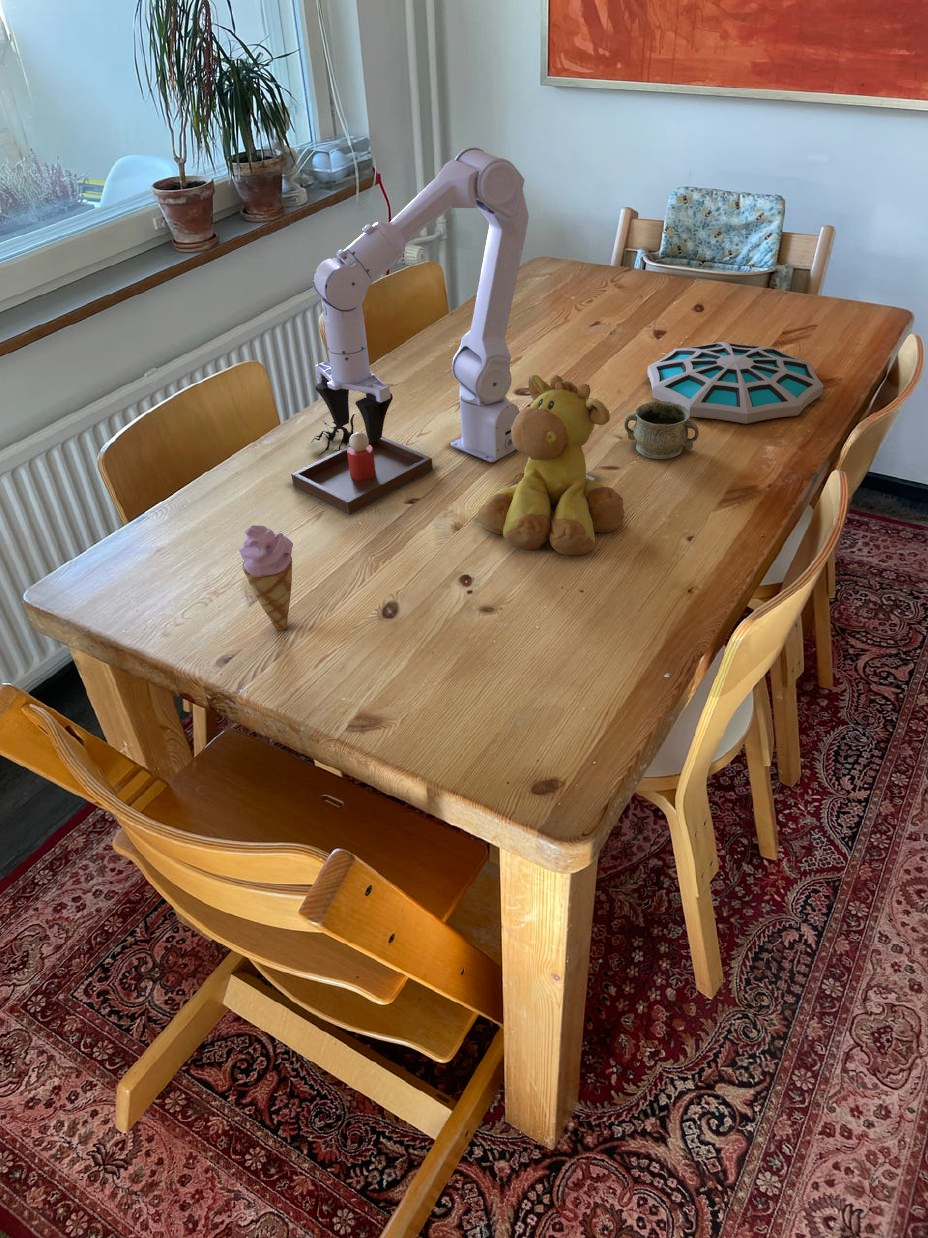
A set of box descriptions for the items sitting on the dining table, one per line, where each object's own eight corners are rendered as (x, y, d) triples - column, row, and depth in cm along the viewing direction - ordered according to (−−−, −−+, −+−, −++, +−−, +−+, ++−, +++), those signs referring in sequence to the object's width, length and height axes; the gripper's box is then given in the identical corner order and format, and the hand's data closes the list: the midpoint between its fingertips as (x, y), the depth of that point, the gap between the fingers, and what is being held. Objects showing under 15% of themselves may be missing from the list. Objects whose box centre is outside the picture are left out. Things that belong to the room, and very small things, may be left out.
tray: (433, 469, 150) (432, 457, 148) (349, 514, 140) (347, 502, 139) (375, 444, 157) (374, 433, 156) (293, 485, 148) (291, 473, 146)
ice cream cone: (260, 612, 122) (237, 513, 113) (307, 607, 122) (289, 509, 113) (255, 644, 117) (231, 543, 108) (305, 640, 117) (286, 539, 108)
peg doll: (380, 473, 148) (376, 431, 144) (361, 483, 146) (356, 441, 142) (364, 465, 151) (358, 424, 146) (345, 475, 148) (339, 433, 144)
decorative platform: (627, 411, 163) (629, 383, 160) (664, 347, 184) (666, 322, 181) (812, 435, 153) (818, 406, 150) (829, 364, 174) (834, 338, 171)
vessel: (616, 455, 151) (618, 419, 147) (629, 431, 157) (632, 395, 153) (690, 466, 147) (695, 429, 143) (701, 440, 153) (706, 405, 149)
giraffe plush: (462, 544, 132) (455, 419, 121) (517, 465, 149) (515, 349, 138) (603, 570, 126) (610, 441, 114) (643, 484, 143) (654, 364, 131)
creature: (307, 462, 156) (351, 455, 153) (296, 433, 153) (340, 426, 150) (322, 440, 162) (364, 433, 159) (311, 412, 159) (354, 404, 156)
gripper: (294, 343, 138) (308, 427, 146) (359, 368, 129) (371, 455, 138) (331, 328, 141) (343, 411, 150) (397, 351, 133) (405, 438, 142)
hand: (358, 431), depth 144 cm, fingers open, 7 cm apart
